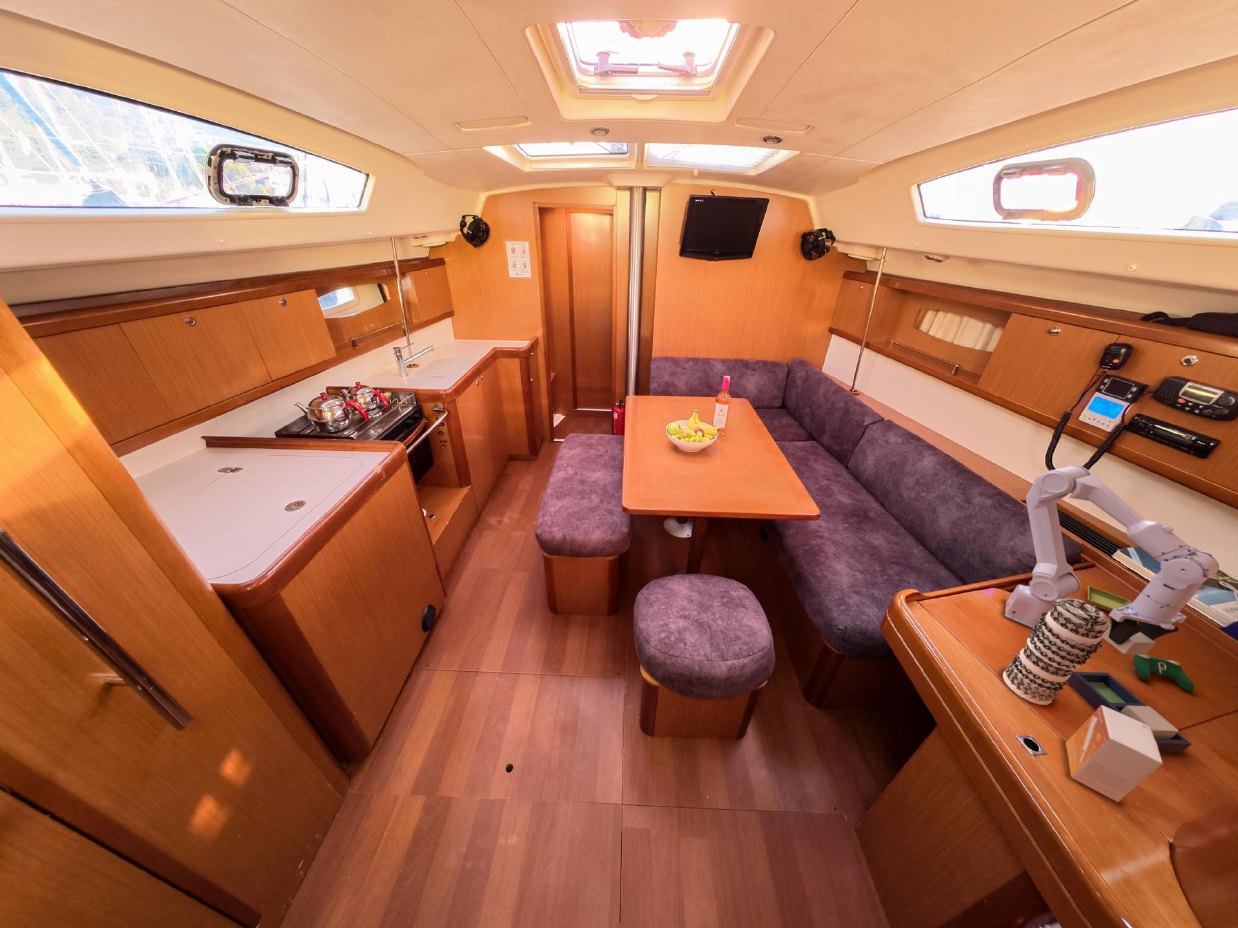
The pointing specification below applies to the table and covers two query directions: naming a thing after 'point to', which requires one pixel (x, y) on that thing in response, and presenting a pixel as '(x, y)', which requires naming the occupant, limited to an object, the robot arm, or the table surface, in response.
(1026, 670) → the decorative candle
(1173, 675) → the gaming controller
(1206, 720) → the table surface
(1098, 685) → the holder
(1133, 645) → the white squarish block
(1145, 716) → the beige block
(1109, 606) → the green shallow tray
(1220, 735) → the table surface
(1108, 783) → the small box
